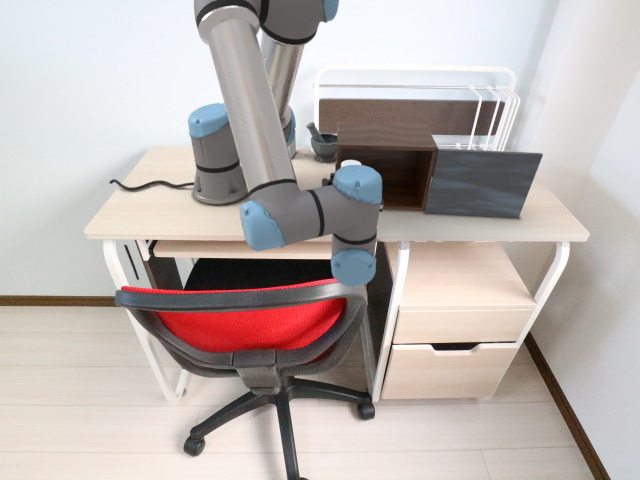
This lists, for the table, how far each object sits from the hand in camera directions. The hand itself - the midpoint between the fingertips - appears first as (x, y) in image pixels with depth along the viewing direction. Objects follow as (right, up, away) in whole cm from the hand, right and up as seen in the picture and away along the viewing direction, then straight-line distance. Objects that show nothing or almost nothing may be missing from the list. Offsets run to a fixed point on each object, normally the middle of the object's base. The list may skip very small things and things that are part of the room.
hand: (349, 169), depth 94 cm
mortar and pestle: (-6, +10, +34) cm, 36 cm away
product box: (-19, +11, +36) cm, 42 cm away
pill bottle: (0, -8, -1) cm, 8 cm away
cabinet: (+9, -4, +15) cm, 18 cm away
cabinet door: (+33, -9, +9) cm, 35 cm away
